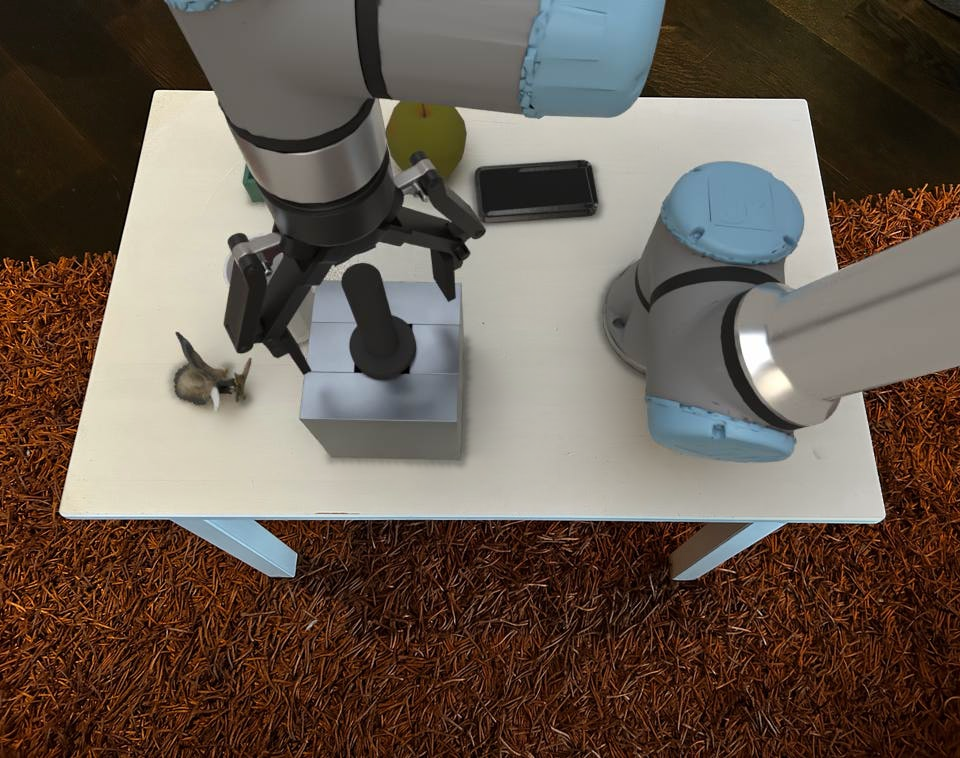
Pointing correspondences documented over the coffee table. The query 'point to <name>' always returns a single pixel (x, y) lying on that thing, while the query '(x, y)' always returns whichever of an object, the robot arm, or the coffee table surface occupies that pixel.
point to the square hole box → (387, 379)
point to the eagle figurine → (205, 379)
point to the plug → (376, 325)
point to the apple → (426, 135)
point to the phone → (535, 191)
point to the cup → (303, 316)
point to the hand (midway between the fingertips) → (374, 323)
